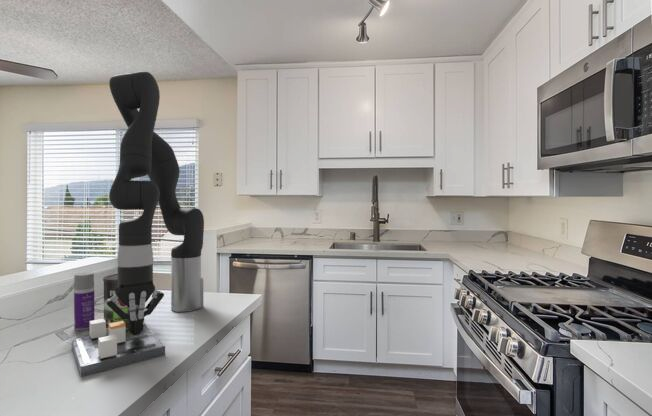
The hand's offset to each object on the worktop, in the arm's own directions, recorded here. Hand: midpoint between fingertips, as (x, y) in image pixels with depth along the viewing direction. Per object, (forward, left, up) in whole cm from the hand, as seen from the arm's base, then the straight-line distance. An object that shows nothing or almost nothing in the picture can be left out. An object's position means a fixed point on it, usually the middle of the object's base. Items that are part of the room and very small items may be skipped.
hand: (135, 334), depth 85 cm
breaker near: (+7, +7, -1) cm, 10 cm away
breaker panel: (+4, 0, -3) cm, 5 cm away
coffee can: (-1, -19, -3) cm, 19 cm away
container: (+8, -24, -3) cm, 25 cm away
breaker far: (+7, -7, -1) cm, 10 cm away
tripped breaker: (+4, 0, -1) cm, 4 cm away
